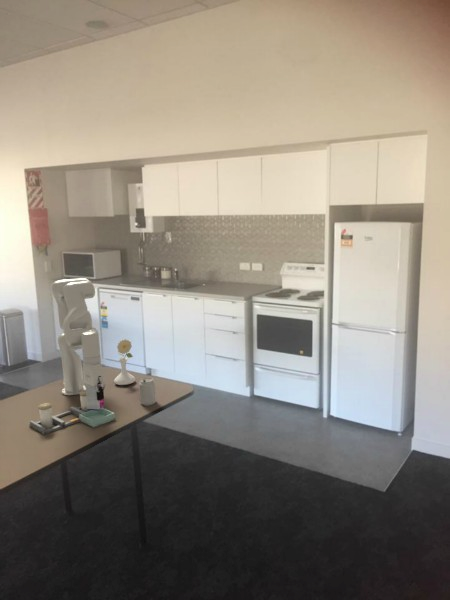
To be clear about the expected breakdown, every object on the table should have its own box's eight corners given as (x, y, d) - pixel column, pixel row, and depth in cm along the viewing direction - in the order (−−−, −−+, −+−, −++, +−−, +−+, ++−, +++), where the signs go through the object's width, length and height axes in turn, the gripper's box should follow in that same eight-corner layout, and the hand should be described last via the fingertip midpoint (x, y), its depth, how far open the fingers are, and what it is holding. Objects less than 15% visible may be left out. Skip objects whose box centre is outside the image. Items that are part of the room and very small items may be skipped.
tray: (79, 420, 226) (78, 414, 225) (100, 413, 234) (100, 406, 233) (93, 427, 218) (92, 421, 218) (115, 419, 226) (114, 413, 226)
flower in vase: (109, 384, 272) (106, 339, 267) (125, 378, 281) (122, 334, 276) (126, 389, 264) (122, 342, 259) (142, 382, 273) (139, 337, 268)
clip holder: (29, 426, 222) (28, 421, 221) (89, 405, 243) (88, 400, 243) (43, 434, 213) (42, 429, 212) (104, 412, 234) (103, 407, 234)
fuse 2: (79, 412, 235) (77, 392, 233) (89, 409, 239) (87, 389, 237) (85, 415, 231) (83, 394, 230) (95, 411, 235) (93, 391, 233)
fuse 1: (38, 427, 221) (36, 405, 219) (49, 423, 224) (47, 402, 223) (44, 430, 217) (42, 408, 215) (55, 426, 221) (53, 404, 219)
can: (141, 400, 247) (139, 377, 245) (156, 399, 247) (155, 376, 245) (139, 406, 240) (138, 382, 237) (155, 405, 240) (154, 381, 238)
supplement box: (99, 410, 221) (97, 385, 219) (87, 410, 223) (84, 385, 220) (105, 405, 227) (103, 381, 225) (93, 405, 228) (90, 381, 226)
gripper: (73, 358, 224) (77, 395, 227) (95, 365, 212) (99, 404, 215) (88, 354, 229) (91, 390, 232) (110, 360, 217) (113, 399, 221)
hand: (95, 397), depth 224 cm, fingers closed on supplement box, 7 cm apart
